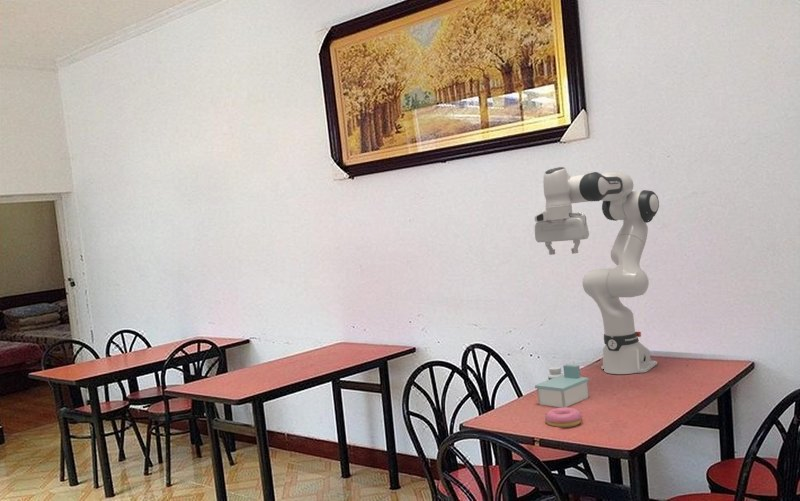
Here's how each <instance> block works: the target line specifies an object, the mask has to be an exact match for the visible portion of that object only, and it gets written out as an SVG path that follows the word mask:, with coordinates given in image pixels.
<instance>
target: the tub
mask: <svg viewBox="0 0 800 501" xmlns="http://www.w3.org/2000/svg"><path fill="white" fill-rule="evenodd" d="M588 383H589V382H585V383H583V384H580V385H578V386H576V387H573V388H571V389H568V390H566V391H564V392H562V391H553V390H545V389H537V388H536V389H537V399H538V404H539V405H540V406H547V407H556V408H563V407H568V408H569V407H570V406H572V405H574V404H577V403H578V402H581V401H584V400H586V399H588V398H590V394H589V393H590V392H589V384H588Z"/></svg>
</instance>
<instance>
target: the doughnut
mask: <svg viewBox="0 0 800 501" xmlns="http://www.w3.org/2000/svg"><path fill="white" fill-rule="evenodd" d="M582 417H583V414H582V412H581V411H580V410H579V409H576V408H575V407H569V406H568V407H563V408H561V407H556V408H552V409H549V410H548V411H547V412H546V413H545V415H544V420H545V423H546V424H547V425H549V426H553V427H557V428H558V429H565V428H566V429H567V427H568V428H572V427H576V426H579V424H580V423H581V422H582V420H583V419H582Z"/></svg>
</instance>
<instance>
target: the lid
mask: <svg viewBox="0 0 800 501" xmlns="http://www.w3.org/2000/svg"><path fill="white" fill-rule="evenodd" d="M585 382H587V383H589V382H590V377H585V376H584V377H583V376H581V368H580V365H579V364H577V365H576V364H565V365H563V375H560V376H558V377H555V378H552V379H550V380H549V379H548V380H545V381H543V382H540V383H537V384H535V385H534V388H535V389H545V390H553V391H562V392H564V391H566V390H568V389H571V388H573V387H576V386H578V385H580V384H583V383H585Z"/></svg>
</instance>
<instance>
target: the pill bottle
mask: <svg viewBox="0 0 800 501" xmlns="http://www.w3.org/2000/svg"><path fill="white" fill-rule="evenodd" d="M548 371H549V374H548V375H547V378H548V380H550V379H552V378H555V377H558V376H560V375H564V373H562V368H561V367H560V366H552V367H549V368H548Z"/></svg>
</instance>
